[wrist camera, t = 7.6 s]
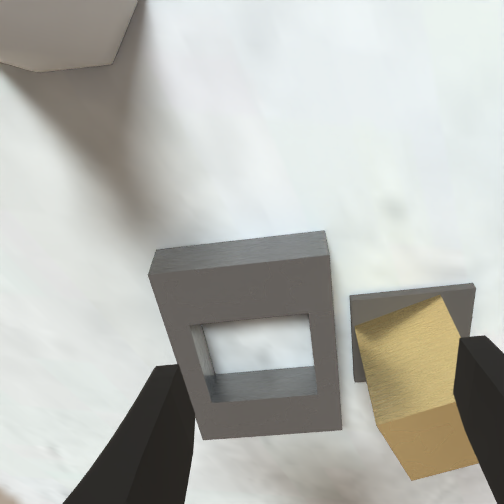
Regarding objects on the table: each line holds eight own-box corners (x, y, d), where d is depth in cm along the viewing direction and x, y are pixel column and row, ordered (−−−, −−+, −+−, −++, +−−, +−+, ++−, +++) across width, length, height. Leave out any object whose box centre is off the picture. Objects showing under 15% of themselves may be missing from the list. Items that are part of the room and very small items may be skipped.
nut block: (440, 294, 24) (487, 392, 19) (464, 352, 26) (513, 454, 21) (354, 326, 25) (376, 425, 20) (384, 379, 27) (411, 480, 22)
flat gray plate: (472, 283, 24) (475, 288, 23) (461, 367, 27) (464, 373, 27) (349, 295, 24) (351, 300, 24) (353, 376, 28) (354, 382, 27)
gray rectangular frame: (324, 230, 22) (329, 254, 21) (337, 401, 29) (342, 430, 27) (156, 249, 23) (147, 274, 21) (206, 411, 30) (202, 440, 28)
